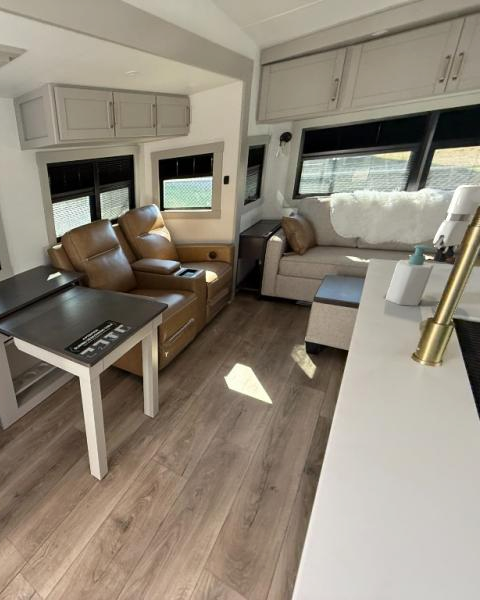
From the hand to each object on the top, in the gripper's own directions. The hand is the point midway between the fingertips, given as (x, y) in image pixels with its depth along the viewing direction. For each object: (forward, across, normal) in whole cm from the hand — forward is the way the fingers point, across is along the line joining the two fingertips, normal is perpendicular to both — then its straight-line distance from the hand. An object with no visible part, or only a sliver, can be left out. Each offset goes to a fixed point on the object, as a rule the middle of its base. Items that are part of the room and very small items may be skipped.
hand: (442, 260), depth 135 cm
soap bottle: (+9, +32, +11) cm, 36 cm away
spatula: (+1, 0, -2) cm, 2 cm away
